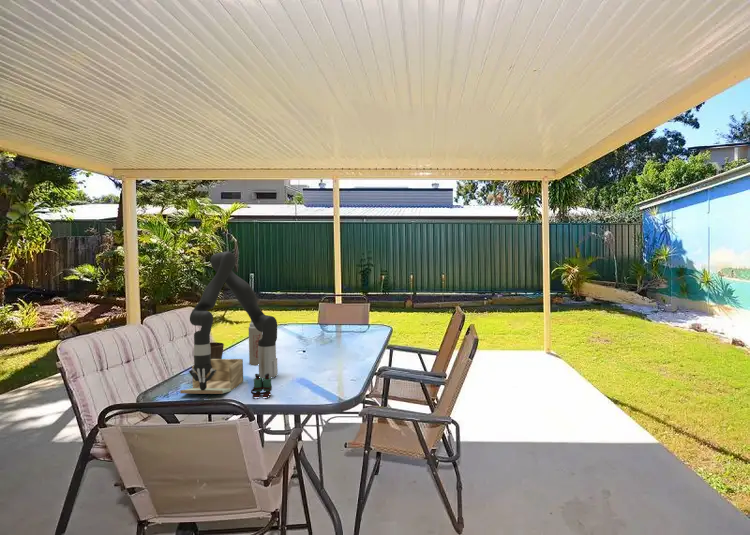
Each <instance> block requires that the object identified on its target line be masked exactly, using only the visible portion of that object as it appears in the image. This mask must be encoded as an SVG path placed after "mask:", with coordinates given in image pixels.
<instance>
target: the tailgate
mask: <svg viewBox="0 0 750 535" xmlns="http://www.w3.org/2000/svg"><path fill="white" fill-rule="evenodd" d="M229 392H232V390H231V389H227V388H206V389H205V390H201V389H200V388H193V387H192V388H191V387H190V388H186V389H181V390H180V391H179V394H200V395H201V394H205V395H206V394H208V395H209V394H211V395H213V394H216V395H217V394H219V395H220V394H221V395H222V394H225V393H229Z"/></svg>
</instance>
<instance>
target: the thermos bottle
mask: <svg viewBox="0 0 750 535" xmlns="http://www.w3.org/2000/svg"><path fill="white" fill-rule="evenodd" d="M260 339H262V332H260V331H258V330H257V329H256V328H255V326H254V324H253V322H252V320H251V319H250V323H249V326H248V357H249V358H248V360H249V361H248V362H249V365H250V364H251V365H250V366H259V365H258V364H259V357H258V341H259V340H260Z"/></svg>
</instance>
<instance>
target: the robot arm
mask: <svg viewBox="0 0 750 535" xmlns="http://www.w3.org/2000/svg"><path fill="white" fill-rule="evenodd" d="M236 261H237V259H236V256H235V254H234V253H233V252H231V251H222V252H221V251H220V252H217V253H214V254H212V255H211V257H210V265H211V267H212V269H213V270H214V271H215V272H216V273H215V275H214V277H213V278H212V279H211V281H209V283H208V284H207V286H206V287H205V289H204V291H203V293H202V294H201V295H202V296H201V298H200V300H199V302H198V303H197V304H196V305H195V307H194V308H193V309H192V311H191V313H190V315H189V322H190V324H191V325H192V326H197V327H200V330H197V331H195V332H194V334H193V366H194V367H193V369H192V368H191V370H189V371H188V373H189V374H190V376H191V377H193V378H194V379H195V381H199V382H200V389H201V390H205V389H206V388H207V381H209V380H210V379H211V378H212V377H213V375H214V374H215V373H216V371H217V370H214V369H213V368H212V366H211V347H210V343H211V336H210V335H211V331H212V327H213V323H214V317H213V316H214V315H213V314H212V312H210V311H208V310H211V309H213V308H215V305H216V304H217V300H218V298H219V296H220V293H221V291H222V288H223V286H224V285H226V286H227V287H228V289H230V291H231V293H232V294H233V296H234V297H235V299H236V300H237V301H238V303H239V304H240V306H241V307H242V308H243V310H244V311H245V312H246V314H247V315H248V317H249V318H250V321H251V320H252V322H253V324H254V326H255V328H256V329H257V330H258V331H260V332H262V339H260V340H259V341H258V357H259V365H258V374H259V375H260V376H259V377H260V378H265V374H268V373H269V378H271V377H275V376H276V375H277V374H278V370H279V369H278V358H277V347H276V346H277V344H276V343H277V339H278V321H277V319H276V317H275V316H272V315H266V314H265V313H264V312H263V311H262V309H261V308H260V306H259V303H258V299H257V294H256V292H255V291H254V289H253V288H252V287H251V286H250V284H249V282H247V281H245V279H243V278H241V277H240V276H238V275H237V274H236V273H235V272H234V271H233V269H234V268H235V265H236V263H237V262H236ZM209 371H210V373H211V374H210V375H209V376H208V373H209ZM196 373H197V374H198V375H197V374H196ZM278 375H279V374H278ZM278 375H277V376H278ZM207 376H208V378H207ZM277 376H276V377H277ZM276 377H275V378H276ZM271 379H272V378H271Z"/></svg>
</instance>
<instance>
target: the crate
mask: <svg viewBox="0 0 750 535" xmlns="http://www.w3.org/2000/svg"><path fill="white" fill-rule="evenodd" d="M243 361H244V359H243V358H222V359H211V366H212V368H213V369H214V370H217V371H216V373H215V374H214V375H213V377H212V378H211V379H210V380H209V381H207V388H227V389H231V391H234V388H235V389H236V388H237V387H238V386H240V385H242V384H243V382H244V362H243ZM193 367H194V365H192V366H191V370H192V369H193ZM196 374H197V373H196ZM210 374H211V373H210V371H209V373H208V376H209V375H210ZM197 375H198V374H197ZM208 376H207V378H208ZM191 377H192V376H191ZM191 380H192V388H200V382H199V381H195V379H194V378H193V377H192V379H191ZM239 384H240V385H239Z"/></svg>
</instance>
